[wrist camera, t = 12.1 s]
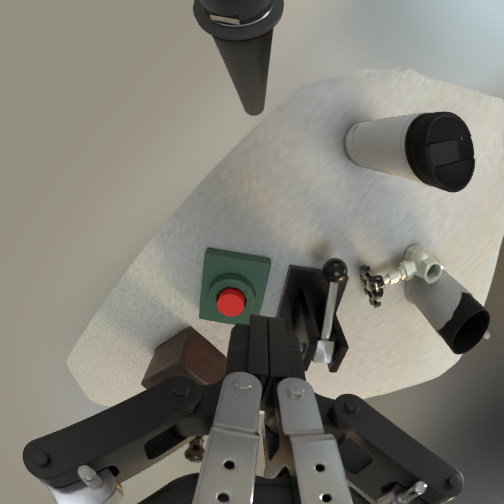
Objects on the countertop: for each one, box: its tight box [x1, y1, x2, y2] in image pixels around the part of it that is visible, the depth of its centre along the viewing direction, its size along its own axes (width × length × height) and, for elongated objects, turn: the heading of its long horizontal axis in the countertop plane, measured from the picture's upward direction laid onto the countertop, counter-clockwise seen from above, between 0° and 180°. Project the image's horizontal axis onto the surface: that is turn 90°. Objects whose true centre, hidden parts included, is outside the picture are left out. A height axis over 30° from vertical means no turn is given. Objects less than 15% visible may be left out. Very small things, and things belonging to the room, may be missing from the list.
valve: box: [359, 244, 443, 308], centre depth 36 cm, size 7×7×12 cm
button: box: [217, 288, 244, 316], centre depth 37 cm, size 4×4×2 cm
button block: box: [199, 248, 271, 325], centre depth 39 cm, size 11×9×4 cm
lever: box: [312, 258, 347, 363], centre depth 32 cm, size 13×3×3 cm, turn 168°
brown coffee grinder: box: [141, 327, 227, 463], centre depth 39 cm, size 16×11×18 cm
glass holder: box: [405, 269, 490, 354], centre depth 34 cm, size 9×14×15 cm, turn 67°
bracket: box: [277, 265, 349, 372], centre depth 36 cm, size 12×9×13 cm
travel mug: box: [344, 112, 475, 192], centre depth 23 cm, size 6×7×20 cm
